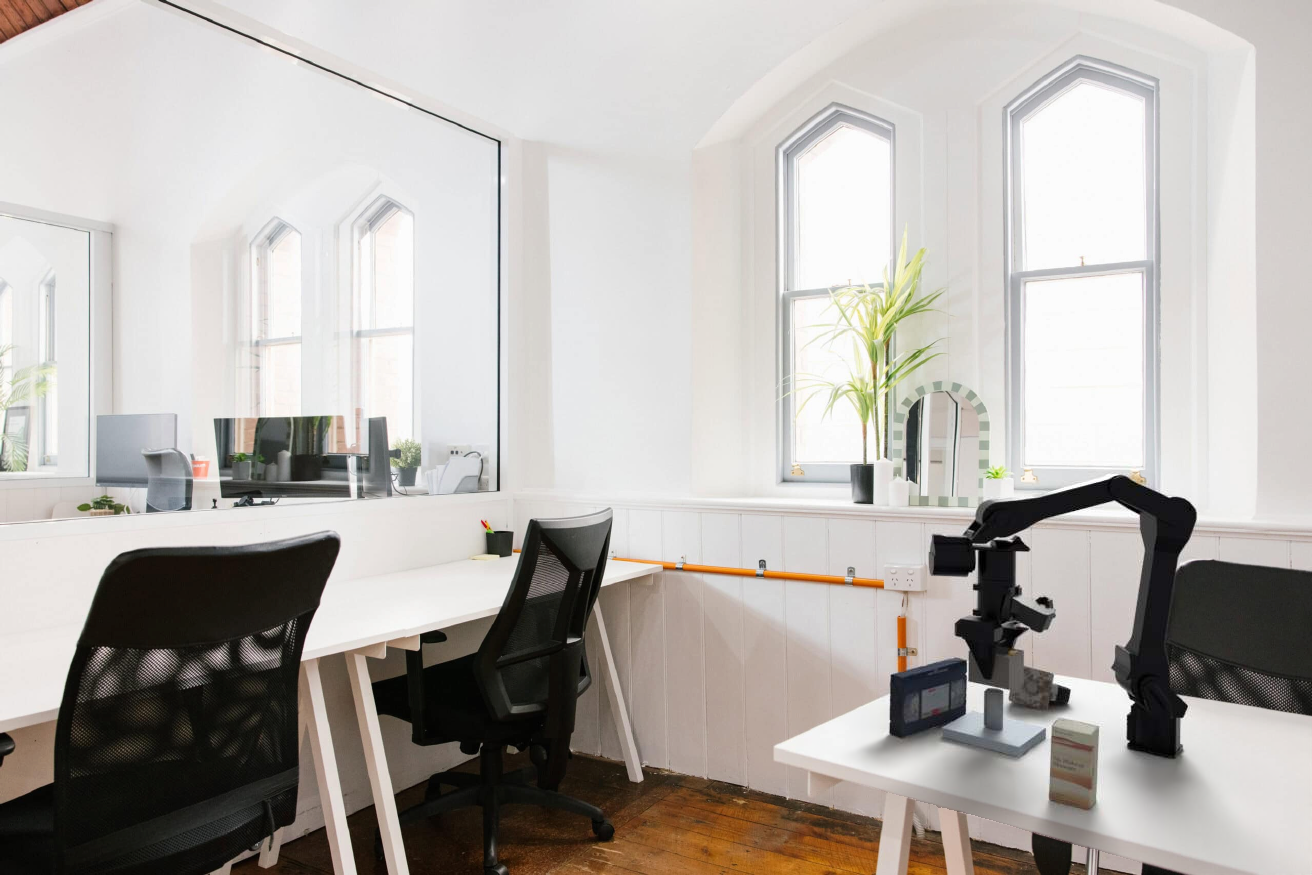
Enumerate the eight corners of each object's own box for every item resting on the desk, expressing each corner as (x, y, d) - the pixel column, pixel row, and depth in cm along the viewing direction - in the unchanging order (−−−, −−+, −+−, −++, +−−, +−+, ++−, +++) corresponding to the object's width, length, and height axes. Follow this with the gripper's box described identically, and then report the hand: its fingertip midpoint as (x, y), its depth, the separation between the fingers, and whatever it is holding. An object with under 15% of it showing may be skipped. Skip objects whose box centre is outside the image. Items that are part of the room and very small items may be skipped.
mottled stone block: (1058, 709, 157) (1075, 719, 148) (996, 692, 160) (1008, 700, 150) (1065, 674, 158) (1082, 681, 148) (1003, 658, 160) (1016, 663, 151)
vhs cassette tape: (901, 739, 134) (901, 677, 134) (886, 734, 136) (886, 672, 136) (969, 718, 144) (970, 660, 144) (954, 713, 147) (955, 656, 147)
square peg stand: (1045, 736, 135) (1046, 690, 135) (1018, 756, 127) (1019, 707, 127) (972, 719, 144) (972, 675, 144) (942, 736, 135) (942, 690, 135)
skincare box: (1047, 800, 111) (1048, 724, 111) (1056, 789, 115) (1057, 716, 115) (1090, 811, 108) (1091, 733, 108) (1098, 800, 112) (1099, 725, 112)
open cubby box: (983, 673, 140) (984, 640, 140) (1023, 681, 135) (1023, 647, 135) (968, 681, 135) (968, 647, 135) (1008, 689, 131) (1009, 655, 131)
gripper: (1027, 592, 123) (1026, 698, 123) (1068, 577, 136) (1067, 673, 136) (953, 582, 130) (952, 682, 130) (999, 569, 144) (998, 660, 144)
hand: (995, 674), depth 135 cm, fingers closed on open cubby box, 6 cm apart
